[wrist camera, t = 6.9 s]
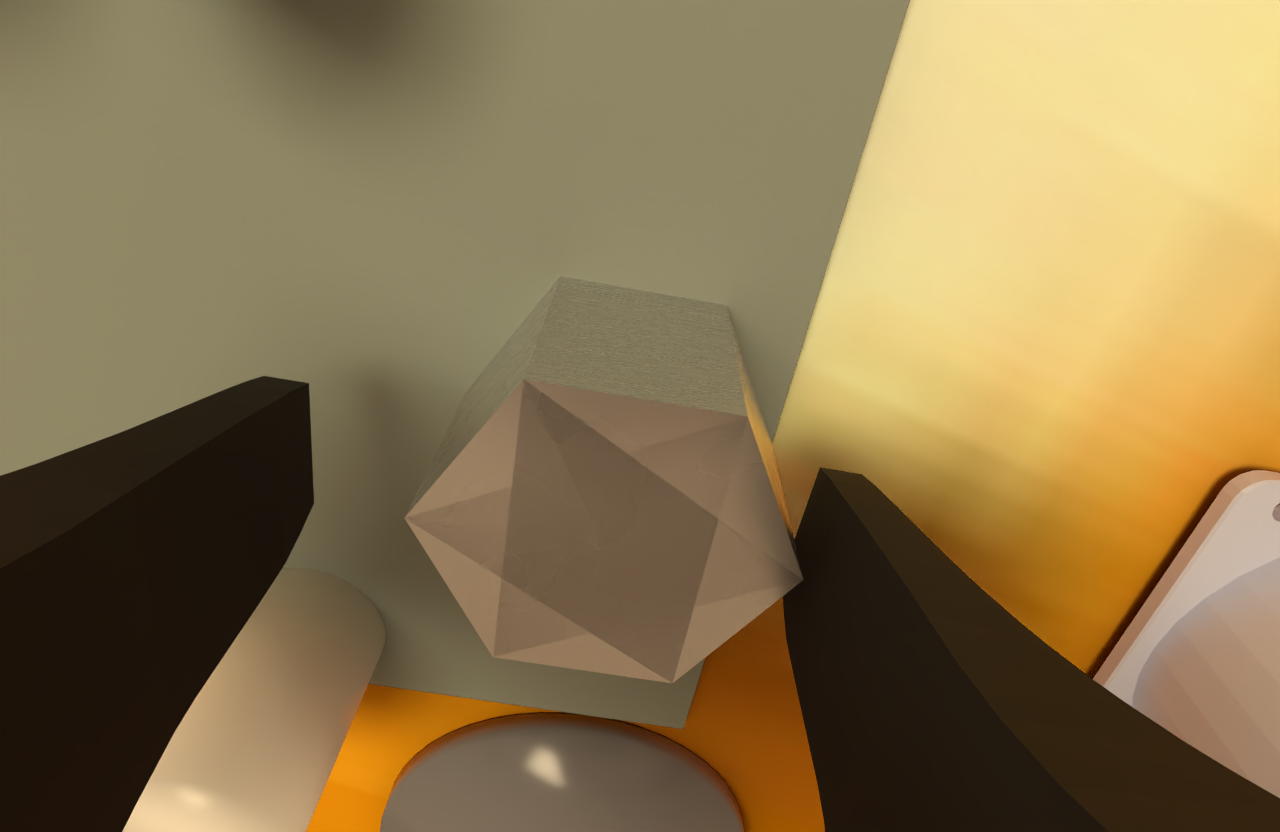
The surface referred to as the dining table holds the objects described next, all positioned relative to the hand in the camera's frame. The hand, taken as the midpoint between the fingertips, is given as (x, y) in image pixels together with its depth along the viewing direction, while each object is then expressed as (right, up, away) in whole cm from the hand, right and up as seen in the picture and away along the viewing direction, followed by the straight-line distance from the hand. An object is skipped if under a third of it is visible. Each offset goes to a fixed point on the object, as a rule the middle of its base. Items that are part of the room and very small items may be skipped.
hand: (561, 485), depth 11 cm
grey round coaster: (-1, -10, +9) cm, 13 cm away
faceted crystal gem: (+1, +1, +2) cm, 2 cm away
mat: (-4, +2, +2) cm, 5 cm away
